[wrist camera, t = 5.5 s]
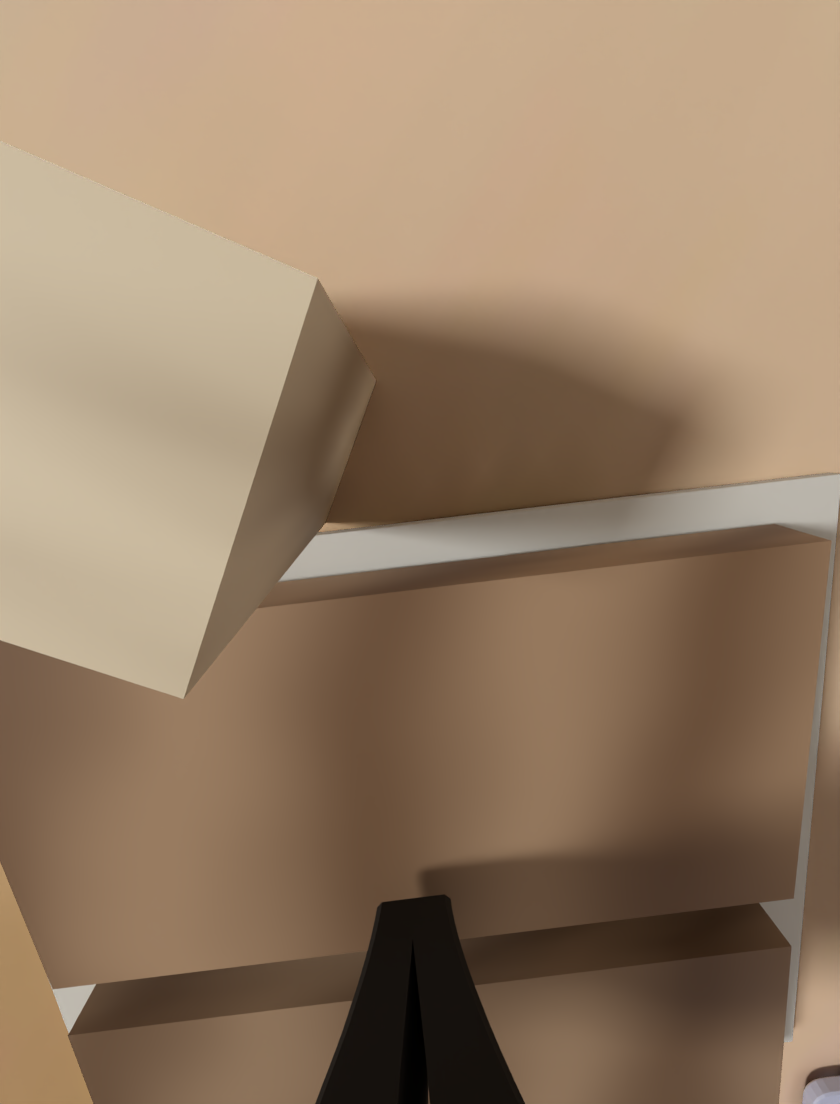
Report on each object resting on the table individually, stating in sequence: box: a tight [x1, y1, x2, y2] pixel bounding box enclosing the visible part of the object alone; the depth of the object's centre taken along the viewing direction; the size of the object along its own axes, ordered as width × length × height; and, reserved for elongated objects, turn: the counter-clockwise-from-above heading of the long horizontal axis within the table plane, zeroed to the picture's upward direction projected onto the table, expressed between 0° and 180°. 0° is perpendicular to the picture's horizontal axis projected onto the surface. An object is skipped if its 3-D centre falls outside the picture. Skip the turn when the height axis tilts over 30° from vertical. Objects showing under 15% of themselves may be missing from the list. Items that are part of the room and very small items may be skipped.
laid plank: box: [68, 903, 792, 1104], centre depth 13 cm, size 16×5×2 cm, turn 96°
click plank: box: [0, 524, 832, 989], centre depth 11 cm, size 16×8×1 cm, turn 96°
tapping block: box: [0, 141, 376, 699], centre depth 7 cm, size 7×4×3 cm
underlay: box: [50, 473, 840, 1042], centre depth 12 cm, size 19×16×1 cm
